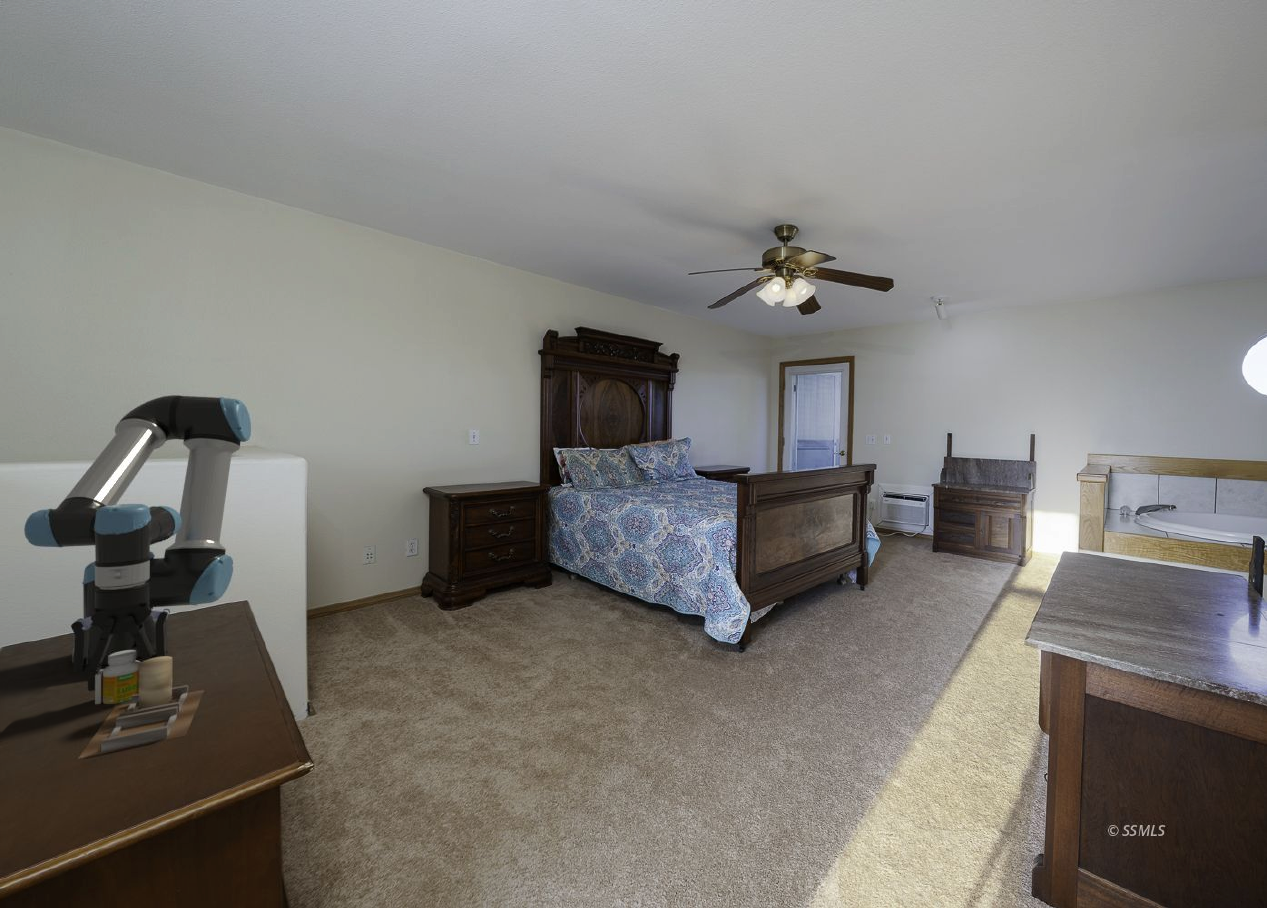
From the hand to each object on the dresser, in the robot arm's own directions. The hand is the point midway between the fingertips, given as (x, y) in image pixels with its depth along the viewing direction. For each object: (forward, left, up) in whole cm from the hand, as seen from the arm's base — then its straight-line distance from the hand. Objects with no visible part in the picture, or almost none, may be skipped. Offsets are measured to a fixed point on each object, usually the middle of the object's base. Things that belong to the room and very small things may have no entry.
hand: (122, 701), depth 99 cm
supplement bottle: (0, 0, -1) cm, 1 cm away
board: (+13, +7, 0) cm, 15 cm away
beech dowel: (+8, +7, +1) cm, 11 cm away
